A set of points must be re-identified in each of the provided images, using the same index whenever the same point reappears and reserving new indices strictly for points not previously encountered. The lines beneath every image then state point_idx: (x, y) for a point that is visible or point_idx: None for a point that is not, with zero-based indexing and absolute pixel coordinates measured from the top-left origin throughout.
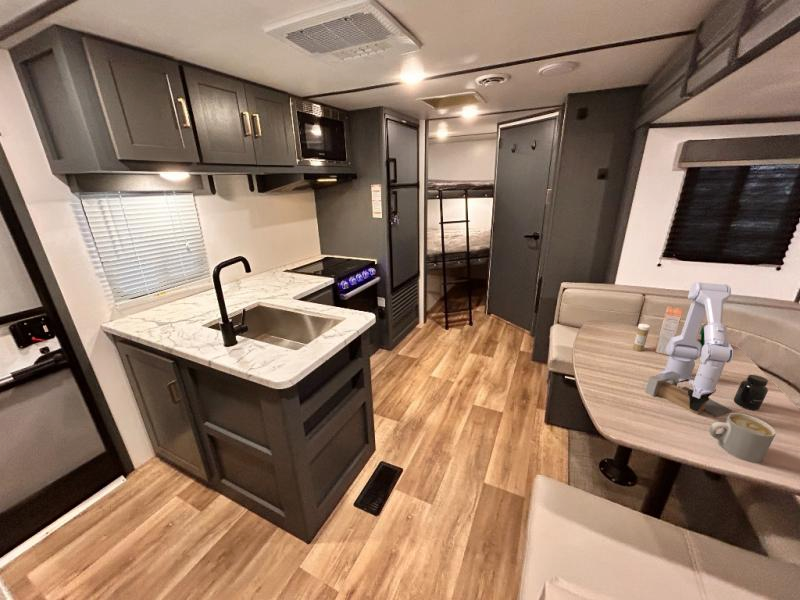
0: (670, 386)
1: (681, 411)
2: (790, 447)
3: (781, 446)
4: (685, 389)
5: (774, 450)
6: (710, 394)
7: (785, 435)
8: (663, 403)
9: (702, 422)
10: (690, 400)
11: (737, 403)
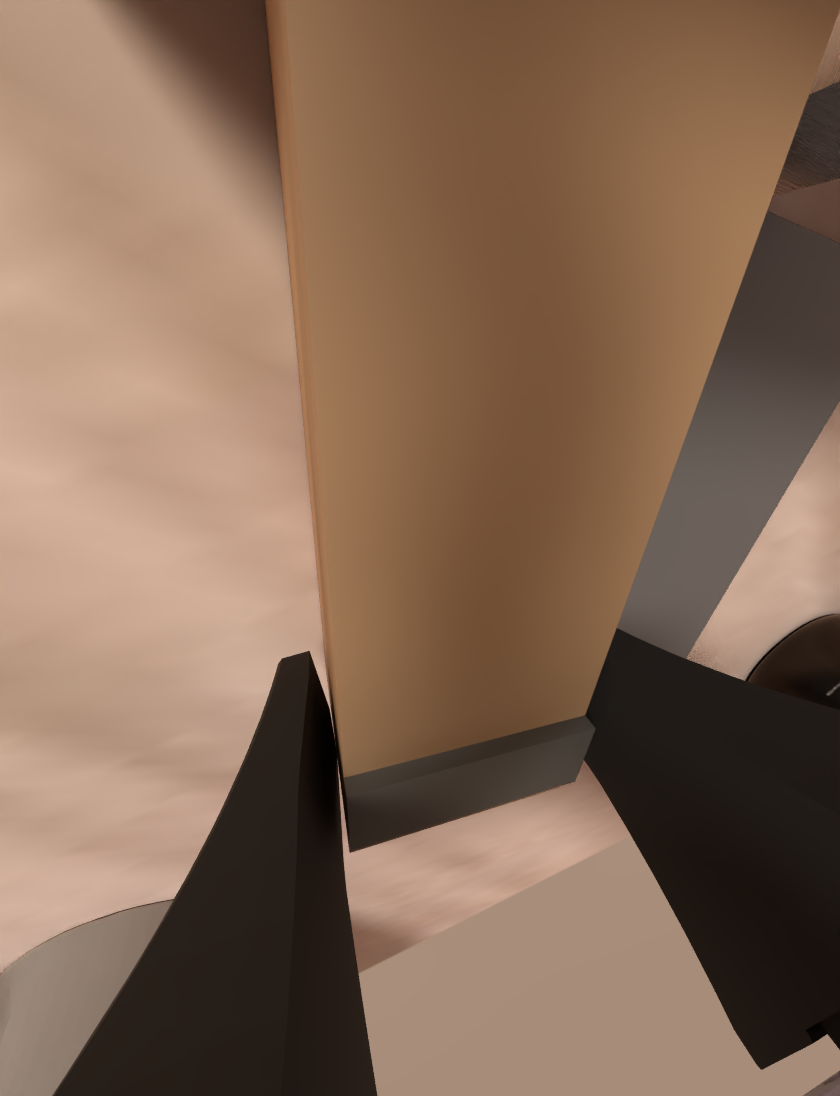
0: (613, 26)
1: (170, 589)
2: (484, 905)
3: (456, 906)
4: (831, 315)
5: (380, 933)
6: (677, 916)
7: (581, 849)
8: (17, 295)
9: (218, 767)
10: (212, 843)
11: (778, 664)
